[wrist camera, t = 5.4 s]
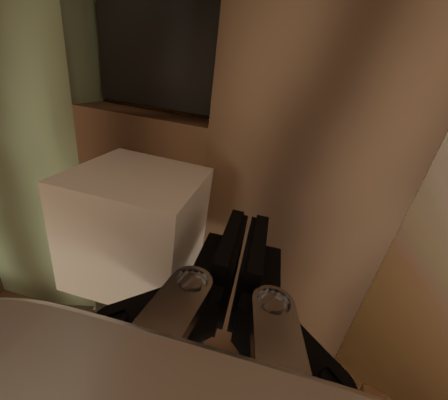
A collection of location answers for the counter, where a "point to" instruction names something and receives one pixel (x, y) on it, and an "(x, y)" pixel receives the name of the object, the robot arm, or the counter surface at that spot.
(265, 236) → the robot arm
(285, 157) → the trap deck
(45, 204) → the block
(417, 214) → the counter surface
